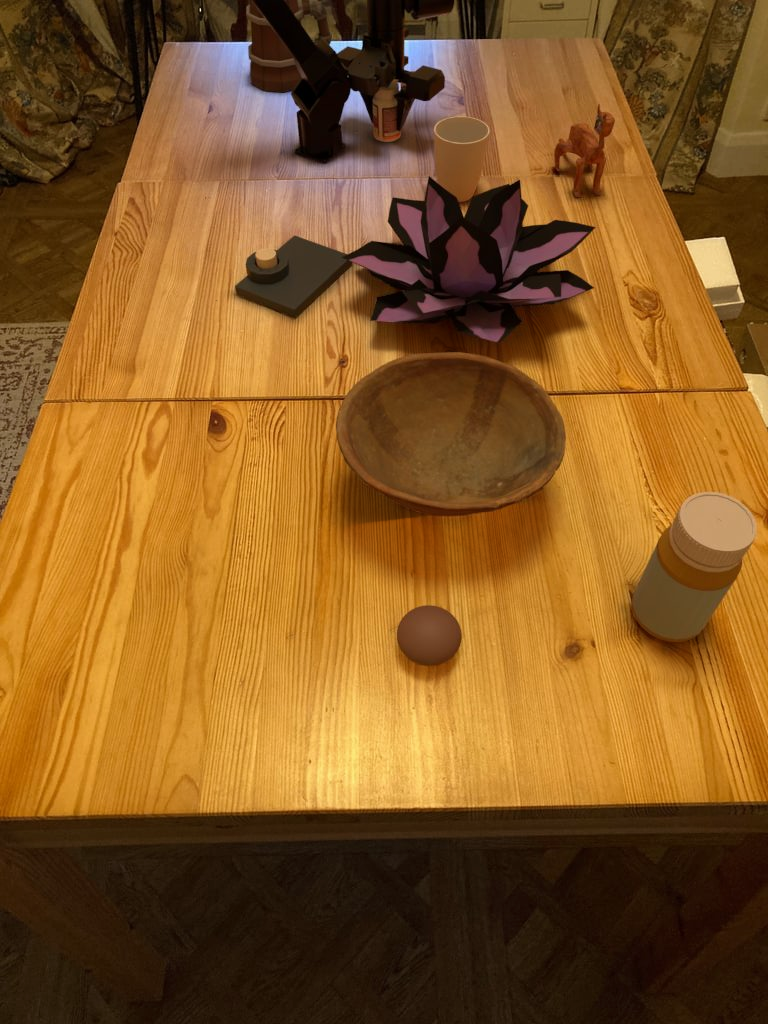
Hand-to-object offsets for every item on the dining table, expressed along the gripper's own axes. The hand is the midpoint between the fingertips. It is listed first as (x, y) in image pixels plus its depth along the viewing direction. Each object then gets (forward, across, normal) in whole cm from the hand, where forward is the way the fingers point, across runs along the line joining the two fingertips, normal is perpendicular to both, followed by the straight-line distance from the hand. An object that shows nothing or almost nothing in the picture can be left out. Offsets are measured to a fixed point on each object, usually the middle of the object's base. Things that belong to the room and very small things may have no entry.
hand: (386, 126), depth 130 cm
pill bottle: (+2, 0, 0) cm, 2 cm away
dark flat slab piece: (+2, +10, -41) cm, 42 cm away
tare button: (-1, +7, -43) cm, 44 cm away
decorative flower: (+2, +32, -32) cm, 45 cm away
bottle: (+2, +72, -66) cm, 98 cm away
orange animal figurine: (+2, +33, +5) cm, 33 cm away
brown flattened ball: (+2, +54, -81) cm, 97 cm away
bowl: (+2, +46, -63) cm, 78 cm away
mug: (+2, -27, +10) cm, 29 cm away
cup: (+2, +19, -10) cm, 22 cm away
